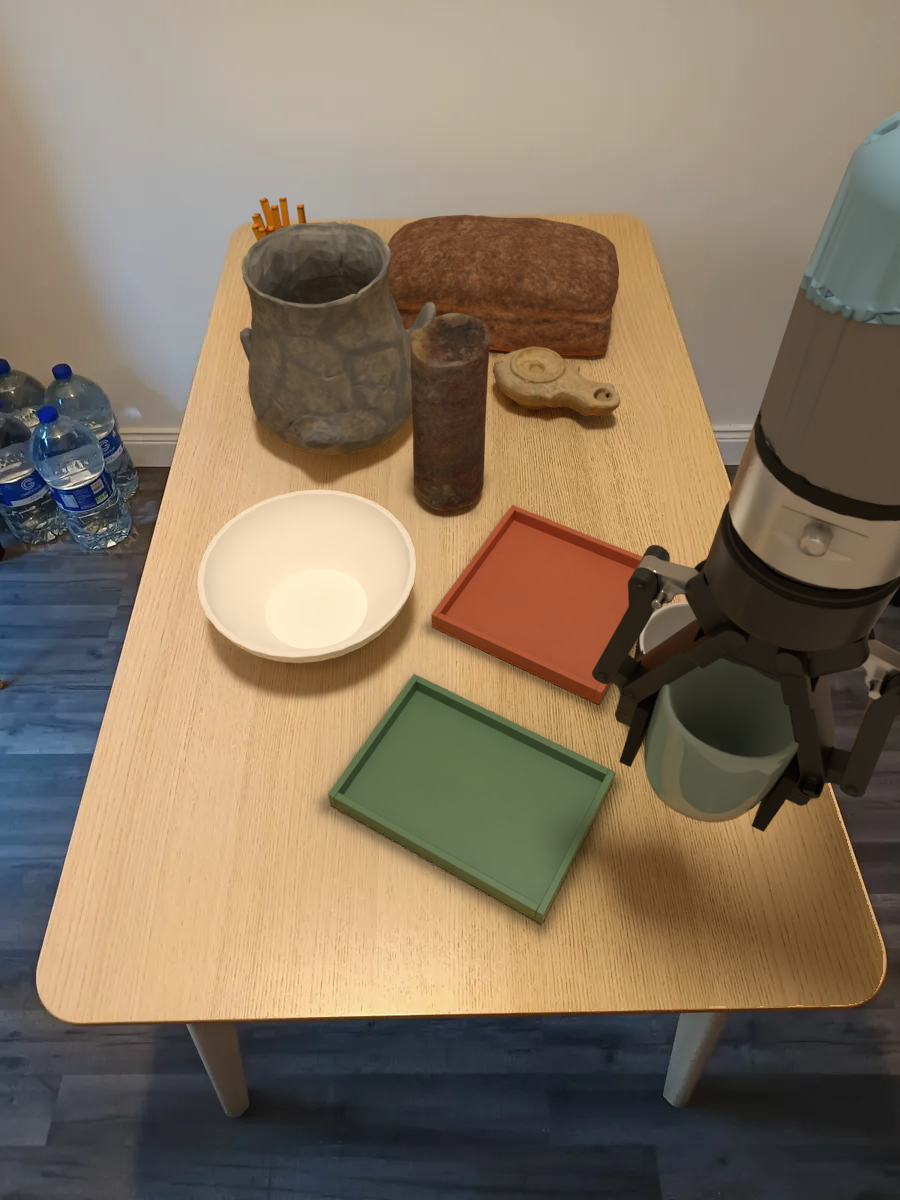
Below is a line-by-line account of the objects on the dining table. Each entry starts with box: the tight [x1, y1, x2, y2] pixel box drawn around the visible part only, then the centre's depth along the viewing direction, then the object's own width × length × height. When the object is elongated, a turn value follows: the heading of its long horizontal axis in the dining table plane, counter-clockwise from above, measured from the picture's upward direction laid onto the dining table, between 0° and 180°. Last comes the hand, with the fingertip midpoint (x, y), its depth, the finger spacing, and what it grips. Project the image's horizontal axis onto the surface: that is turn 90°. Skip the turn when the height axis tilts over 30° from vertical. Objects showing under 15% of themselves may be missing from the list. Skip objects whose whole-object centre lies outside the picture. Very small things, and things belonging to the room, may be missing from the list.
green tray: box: [327, 673, 616, 924], centre depth 70 cm, size 19×13×2 cm
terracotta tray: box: [430, 504, 643, 705], centre depth 82 cm, size 17×16×2 cm
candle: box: [410, 313, 490, 512], centre depth 84 cm, size 8×7×20 cm
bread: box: [387, 214, 620, 357], centre depth 107 cm, size 17×29×11 cm, turn 82°
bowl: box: [196, 488, 417, 664], centre depth 80 cm, size 20×20×7 cm
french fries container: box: [251, 197, 307, 242], centre depth 106 cm, size 7×9×14 cm
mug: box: [633, 601, 697, 660], centre depth 70 cm, size 12×9×10 cm
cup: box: [643, 658, 799, 824], centre depth 49 cm, size 8×8×10 cm
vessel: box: [239, 221, 436, 456], centre depth 91 cm, size 22×22×20 cm
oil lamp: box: [492, 347, 621, 417], centre depth 99 cm, size 11×14×5 cm
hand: (697, 778), depth 53 cm, fingers closed on cup, 8 cm apart
